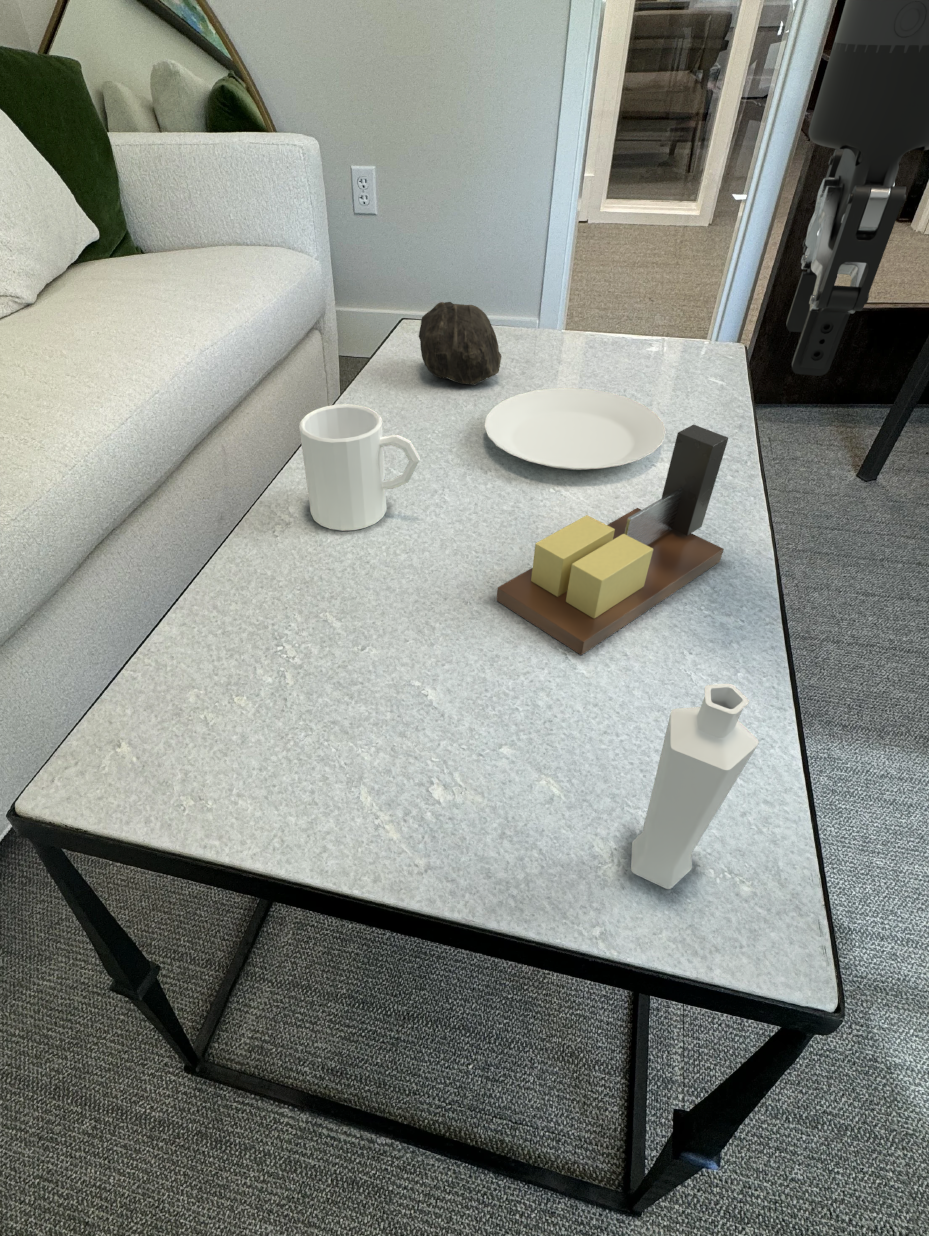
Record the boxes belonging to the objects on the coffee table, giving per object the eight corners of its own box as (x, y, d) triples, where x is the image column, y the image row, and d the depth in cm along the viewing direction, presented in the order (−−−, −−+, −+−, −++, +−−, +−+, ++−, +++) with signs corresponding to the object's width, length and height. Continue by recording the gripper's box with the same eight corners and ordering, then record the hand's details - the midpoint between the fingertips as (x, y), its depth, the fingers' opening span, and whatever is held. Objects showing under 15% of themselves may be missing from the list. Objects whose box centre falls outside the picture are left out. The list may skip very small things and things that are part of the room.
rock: (498, 388, 96) (493, 304, 90) (416, 395, 99) (405, 314, 93) (507, 367, 104) (502, 288, 98) (430, 374, 107) (421, 298, 101)
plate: (652, 407, 93) (656, 390, 91) (669, 491, 78) (674, 472, 77) (489, 402, 96) (491, 385, 94) (477, 482, 81) (478, 463, 80)
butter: (580, 551, 69) (586, 514, 66) (644, 586, 64) (653, 548, 62) (530, 580, 66) (535, 543, 63) (594, 619, 62) (601, 580, 59)
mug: (410, 541, 73) (407, 449, 66) (299, 525, 76) (286, 435, 69) (430, 500, 79) (430, 411, 72) (327, 487, 81) (317, 400, 74)
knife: (670, 513, 72) (693, 424, 66) (701, 527, 70) (728, 437, 64) (604, 552, 68) (622, 461, 61) (635, 569, 66) (657, 476, 59)
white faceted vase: (705, 849, 47) (785, 685, 37) (684, 902, 45) (763, 741, 34) (637, 819, 49) (693, 654, 38) (613, 868, 46) (666, 705, 36)
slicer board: (634, 520, 75) (637, 507, 74) (719, 562, 69) (724, 548, 68) (496, 600, 66) (497, 587, 65) (581, 655, 61) (583, 642, 60)
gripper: (1028, 39, 33) (876, 396, 45) (964, 25, 43) (853, 322, 54) (849, 42, 35) (746, 384, 46) (826, 28, 45) (746, 314, 56)
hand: (804, 350), depth 50 cm, fingers open, 8 cm apart
